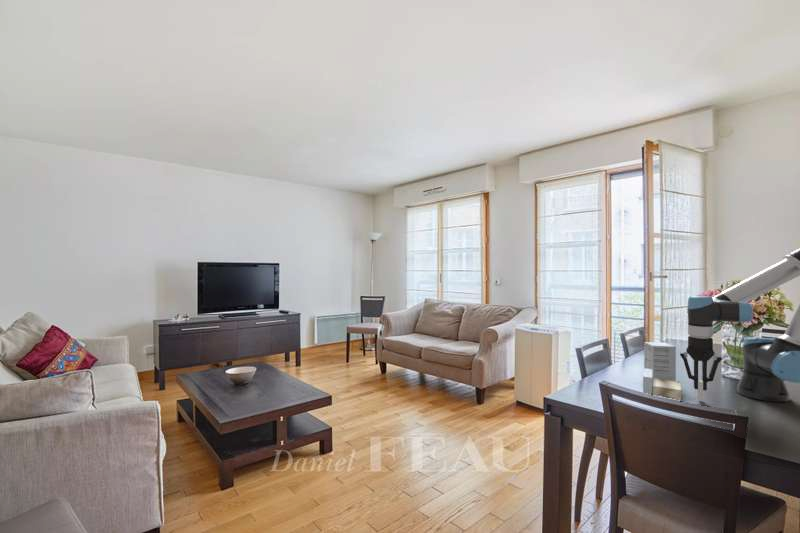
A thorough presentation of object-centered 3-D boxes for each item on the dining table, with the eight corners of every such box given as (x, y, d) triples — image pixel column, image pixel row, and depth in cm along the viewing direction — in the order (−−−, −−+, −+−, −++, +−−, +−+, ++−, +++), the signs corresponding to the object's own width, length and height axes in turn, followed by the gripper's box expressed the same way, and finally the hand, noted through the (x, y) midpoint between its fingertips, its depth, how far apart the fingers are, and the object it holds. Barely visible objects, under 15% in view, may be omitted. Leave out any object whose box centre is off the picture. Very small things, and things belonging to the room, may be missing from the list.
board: (652, 388, 163) (652, 369, 163) (652, 398, 151) (652, 377, 151) (644, 386, 165) (644, 368, 165) (643, 396, 153) (643, 376, 153)
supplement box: (676, 385, 166) (676, 346, 166) (652, 384, 168) (652, 345, 168) (665, 379, 176) (666, 342, 175) (643, 378, 177) (643, 341, 177)
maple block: (679, 394, 157) (679, 381, 157) (681, 403, 147) (681, 390, 147) (653, 390, 162) (653, 378, 162) (652, 398, 152) (652, 385, 152)
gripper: (720, 336, 147) (721, 398, 148) (678, 333, 154) (678, 392, 155) (723, 340, 141) (723, 404, 141) (679, 336, 148) (679, 397, 149)
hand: (700, 398), depth 148 cm, fingers closed
